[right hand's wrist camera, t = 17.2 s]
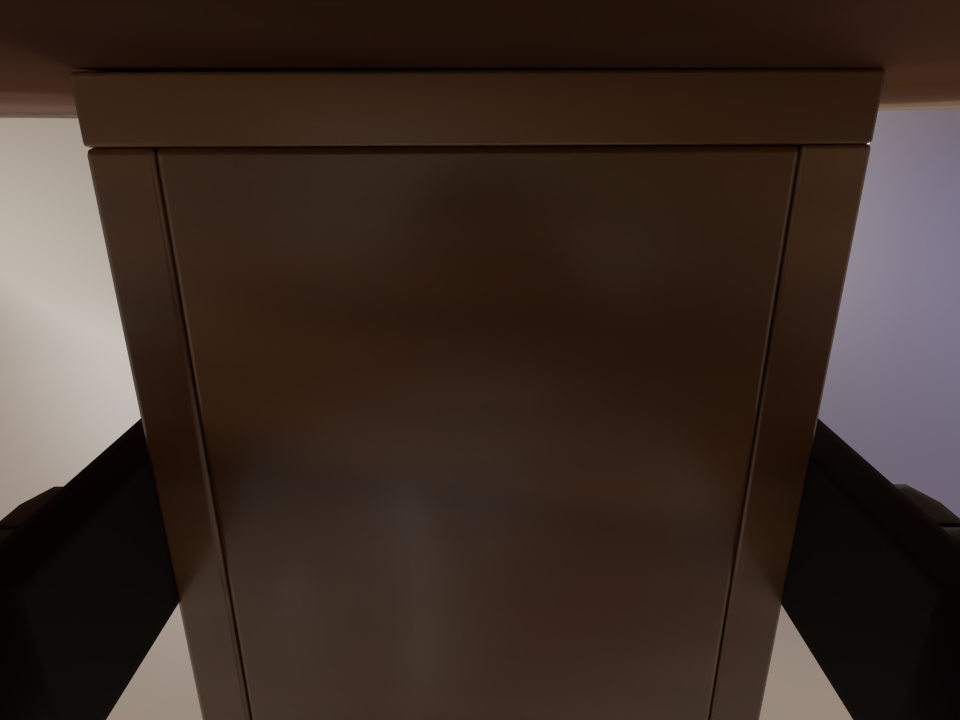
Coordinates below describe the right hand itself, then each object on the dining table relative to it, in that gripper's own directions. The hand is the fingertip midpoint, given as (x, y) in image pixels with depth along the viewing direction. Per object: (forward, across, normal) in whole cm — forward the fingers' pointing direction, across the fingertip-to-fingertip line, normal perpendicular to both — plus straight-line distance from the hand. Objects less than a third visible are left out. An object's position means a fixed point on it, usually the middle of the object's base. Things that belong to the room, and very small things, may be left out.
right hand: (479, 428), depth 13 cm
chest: (+4, 0, -7) cm, 8 cm away
